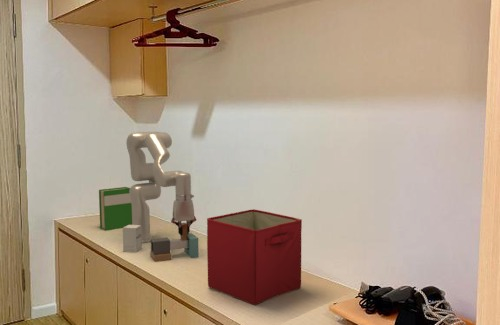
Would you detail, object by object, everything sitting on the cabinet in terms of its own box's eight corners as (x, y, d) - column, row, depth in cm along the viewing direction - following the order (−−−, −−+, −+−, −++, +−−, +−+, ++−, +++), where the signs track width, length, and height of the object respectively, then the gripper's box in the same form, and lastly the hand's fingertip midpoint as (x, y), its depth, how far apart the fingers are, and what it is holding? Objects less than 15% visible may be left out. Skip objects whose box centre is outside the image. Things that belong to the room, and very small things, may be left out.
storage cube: (306, 289, 207) (307, 218, 204) (259, 308, 188) (259, 230, 185) (249, 271, 230) (249, 207, 227) (202, 287, 210) (201, 217, 207)
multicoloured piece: (162, 248, 253) (162, 224, 252) (190, 245, 259) (190, 222, 258) (164, 250, 250) (164, 226, 248) (192, 247, 255) (192, 223, 254)
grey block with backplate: (150, 256, 254) (150, 238, 253) (166, 254, 257) (166, 236, 256) (154, 261, 245) (154, 242, 244) (171, 259, 248) (171, 241, 247)
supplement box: (136, 252, 261) (135, 228, 260) (122, 251, 263) (122, 227, 262) (142, 248, 269) (141, 224, 267) (129, 248, 270) (128, 224, 269)
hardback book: (105, 230, 309) (103, 191, 306) (100, 228, 314) (98, 189, 312) (132, 226, 320) (131, 188, 317) (126, 224, 326) (125, 186, 323)
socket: (184, 251, 262) (184, 233, 261) (191, 251, 263) (191, 232, 262) (191, 258, 251) (190, 238, 250) (198, 257, 252) (198, 237, 251)
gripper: (197, 195, 259) (197, 231, 261) (165, 197, 253) (166, 234, 255) (201, 197, 253) (201, 234, 254) (169, 200, 246) (169, 237, 248)
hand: (184, 234), depth 255 cm, fingers closed on multicoloured piece, 2 cm apart
